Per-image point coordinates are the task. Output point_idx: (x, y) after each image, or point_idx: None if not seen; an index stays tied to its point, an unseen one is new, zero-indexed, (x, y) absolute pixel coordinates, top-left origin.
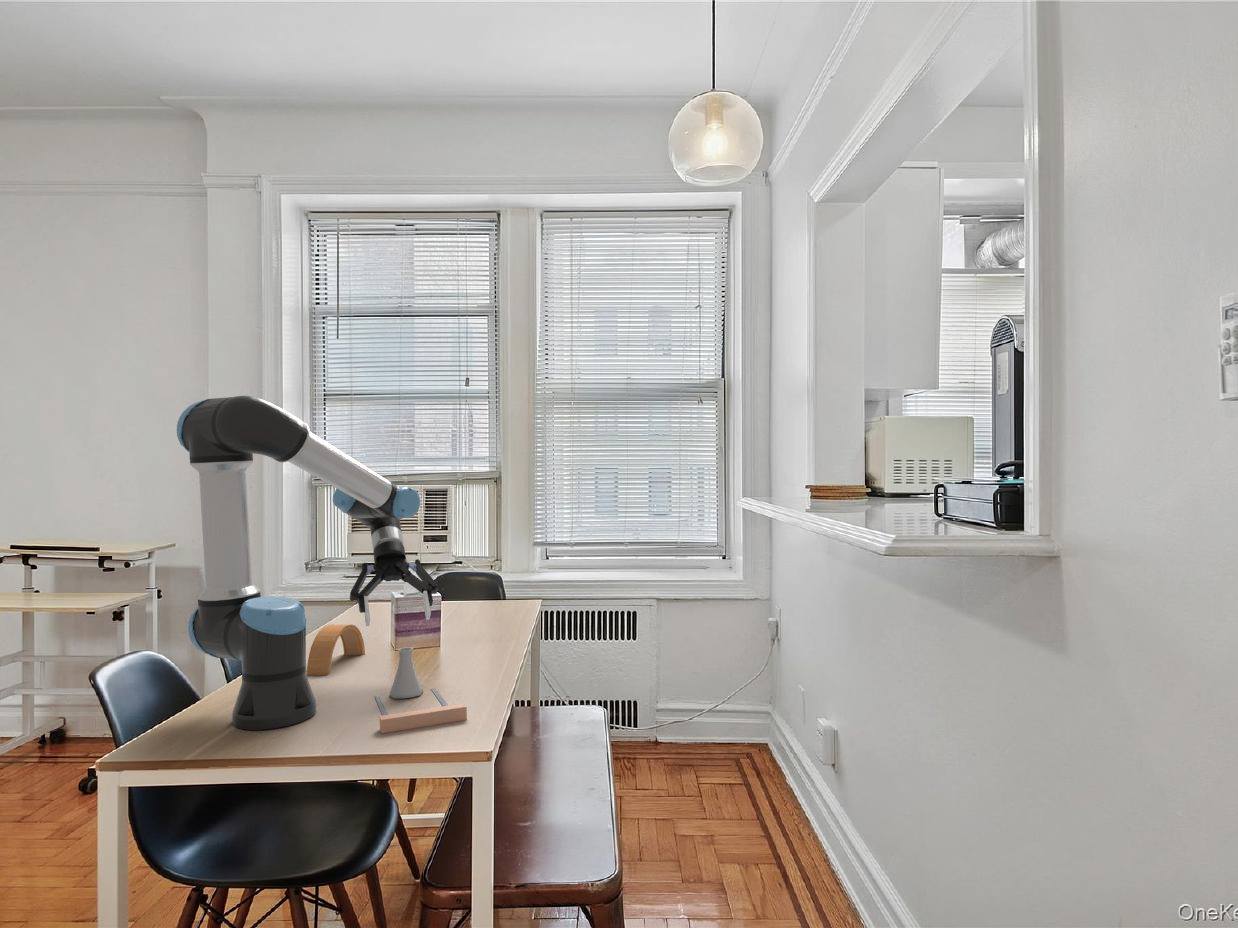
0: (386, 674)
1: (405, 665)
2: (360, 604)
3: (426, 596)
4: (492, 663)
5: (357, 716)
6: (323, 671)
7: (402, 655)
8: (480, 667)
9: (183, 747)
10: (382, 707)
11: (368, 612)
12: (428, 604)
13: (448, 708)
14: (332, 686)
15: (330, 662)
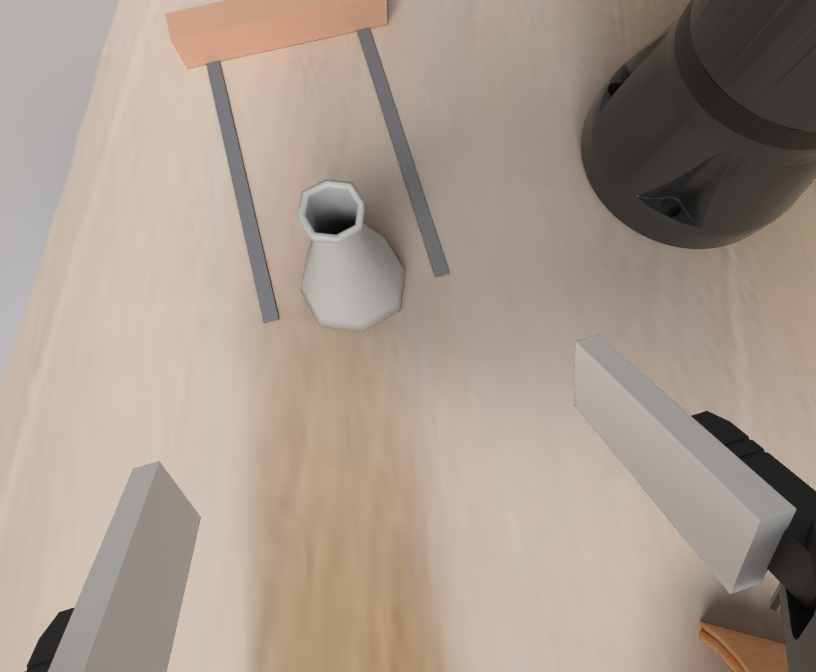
0: (461, 561)
1: (339, 214)
2: (748, 448)
3: (72, 651)
4: (24, 646)
5: (461, 120)
6: (732, 632)
7: (346, 199)
8: None
9: None
10: (407, 170)
11: (617, 374)
12: (108, 542)
13: (213, 11)
14: None
15: (732, 663)
